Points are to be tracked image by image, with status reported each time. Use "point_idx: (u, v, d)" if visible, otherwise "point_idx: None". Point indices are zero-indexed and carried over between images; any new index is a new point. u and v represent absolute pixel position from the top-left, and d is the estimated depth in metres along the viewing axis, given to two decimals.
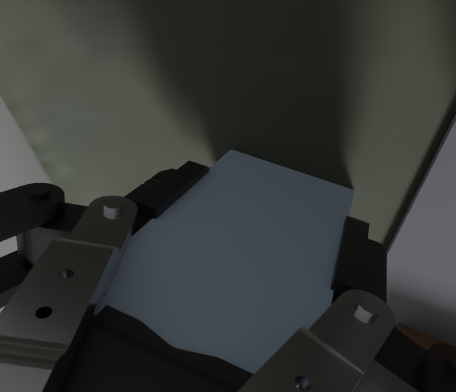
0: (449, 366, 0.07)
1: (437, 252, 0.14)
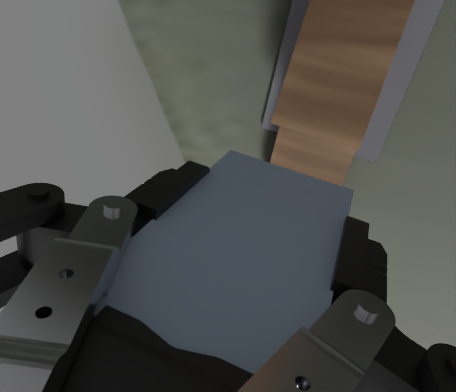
0: (449, 366, 0.07)
1: None
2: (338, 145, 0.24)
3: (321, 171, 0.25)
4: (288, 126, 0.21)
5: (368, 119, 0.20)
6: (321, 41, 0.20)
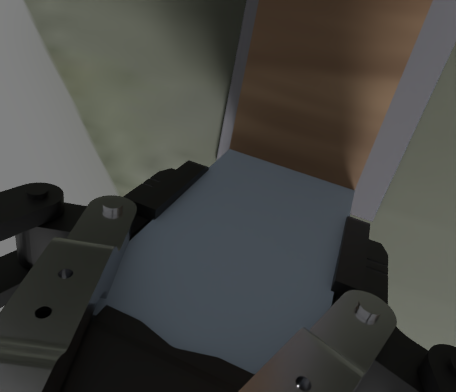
0: (450, 367, 0.07)
1: None
2: None
3: None
4: None
5: (355, 181, 0.14)
6: (282, 66, 0.13)
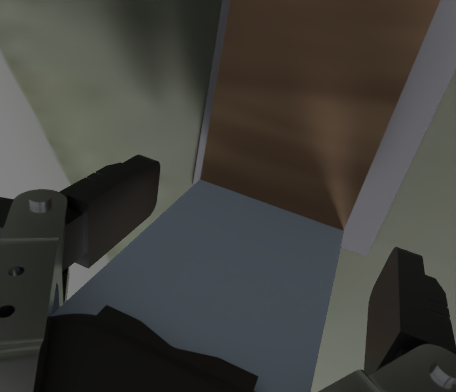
0: None
1: None
2: None
3: None
4: None
5: (344, 220, 0.12)
6: (257, 86, 0.11)
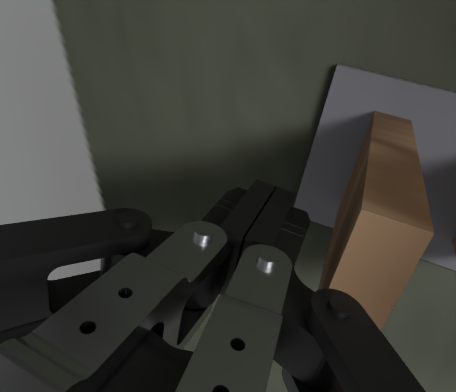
0: (328, 305, 0.08)
1: None
2: None
3: None
4: None
5: None
6: None
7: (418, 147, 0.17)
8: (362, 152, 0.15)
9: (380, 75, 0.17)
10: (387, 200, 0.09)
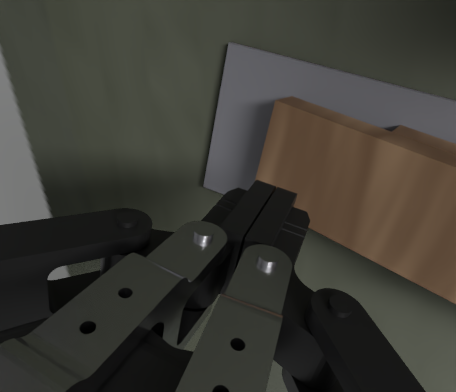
0: (328, 305, 0.08)
1: None
2: None
3: None
4: None
5: None
6: None
7: None
8: (322, 146, 0.16)
9: (267, 52, 0.18)
10: None
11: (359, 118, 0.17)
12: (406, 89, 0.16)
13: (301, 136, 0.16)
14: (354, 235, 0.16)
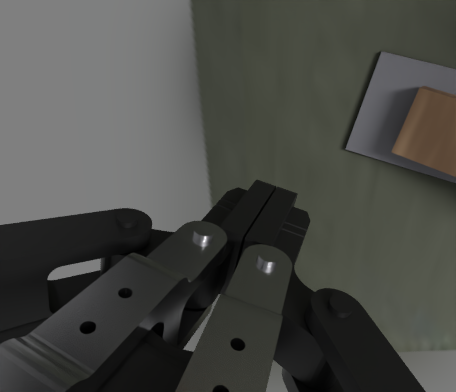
0: (328, 305, 0.08)
1: None
2: None
3: None
4: None
5: None
6: None
7: None
8: (451, 115, 0.26)
9: (407, 57, 0.28)
10: None
11: None
12: None
13: (436, 110, 0.26)
14: None
